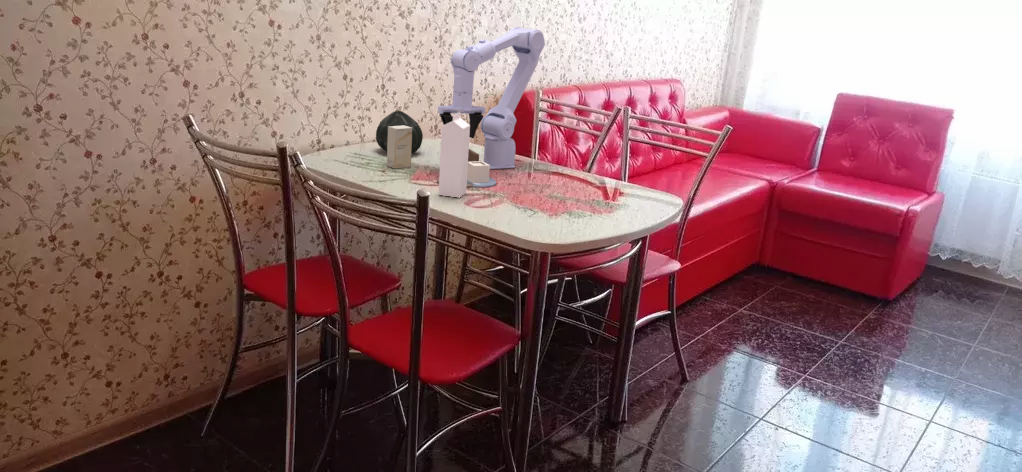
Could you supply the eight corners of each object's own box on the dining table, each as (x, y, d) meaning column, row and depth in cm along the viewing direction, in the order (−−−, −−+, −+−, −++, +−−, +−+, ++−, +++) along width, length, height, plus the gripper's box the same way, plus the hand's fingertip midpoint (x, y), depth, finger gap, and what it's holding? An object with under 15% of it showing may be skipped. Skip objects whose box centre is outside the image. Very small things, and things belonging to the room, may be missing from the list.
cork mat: (460, 179, 216) (460, 177, 216) (475, 186, 211) (475, 184, 210) (436, 182, 212) (436, 180, 212) (452, 189, 206) (452, 187, 206)
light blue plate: (486, 176, 222) (486, 174, 222) (502, 186, 213) (502, 184, 213) (452, 178, 217) (452, 176, 217) (467, 188, 208) (467, 186, 208)
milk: (438, 195, 199) (441, 113, 192) (445, 190, 205) (448, 110, 198) (460, 198, 198) (463, 116, 191) (466, 193, 204) (470, 113, 196)
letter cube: (481, 177, 218) (482, 160, 217) (488, 182, 214) (489, 164, 212) (465, 178, 216) (466, 161, 214) (472, 183, 212) (473, 165, 210)
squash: (411, 129, 253) (388, 98, 242) (437, 140, 243) (414, 108, 232) (383, 159, 249) (358, 129, 239) (409, 171, 239) (384, 140, 229)
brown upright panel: (464, 167, 231) (465, 145, 229) (482, 177, 221) (483, 154, 218) (453, 167, 230) (455, 145, 228) (471, 178, 219) (472, 155, 217)
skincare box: (394, 169, 223) (395, 129, 219) (386, 165, 225) (387, 126, 222) (411, 166, 227) (413, 127, 223) (403, 163, 230) (404, 124, 226)
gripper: (445, 93, 211) (442, 140, 216) (491, 94, 218) (487, 140, 222) (436, 89, 217) (433, 135, 222) (480, 90, 224) (477, 135, 228)
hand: (459, 137), depth 222 cm, fingers open, 7 cm apart
